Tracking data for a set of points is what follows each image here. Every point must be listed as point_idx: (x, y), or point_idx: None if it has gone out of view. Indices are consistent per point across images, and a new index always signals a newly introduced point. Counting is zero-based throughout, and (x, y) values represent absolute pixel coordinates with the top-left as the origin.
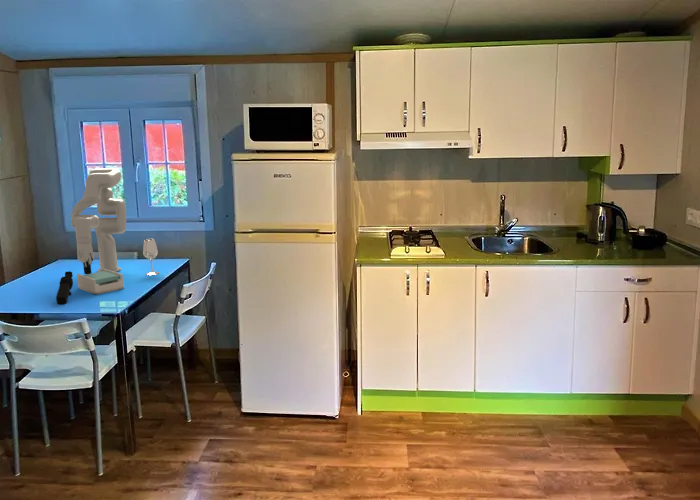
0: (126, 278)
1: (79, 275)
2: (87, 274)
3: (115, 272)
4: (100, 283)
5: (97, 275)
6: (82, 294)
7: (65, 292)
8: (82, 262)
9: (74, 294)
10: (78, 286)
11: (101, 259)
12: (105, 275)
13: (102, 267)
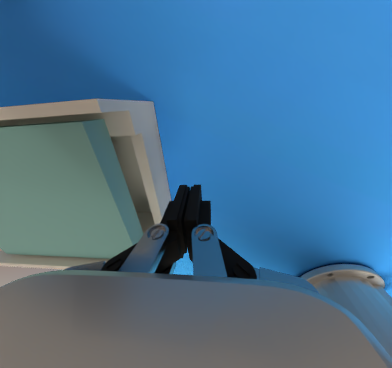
0: (183, 266)
1: (49, 103)
2: (99, 175)
3: (34, 264)
4: (142, 197)
5: (37, 202)
6: (3, 63)
7: None
8: (246, 268)
9: (14, 18)
10: (147, 101)
11: (387, 338)
12: (21, 225)
13: (350, 290)
